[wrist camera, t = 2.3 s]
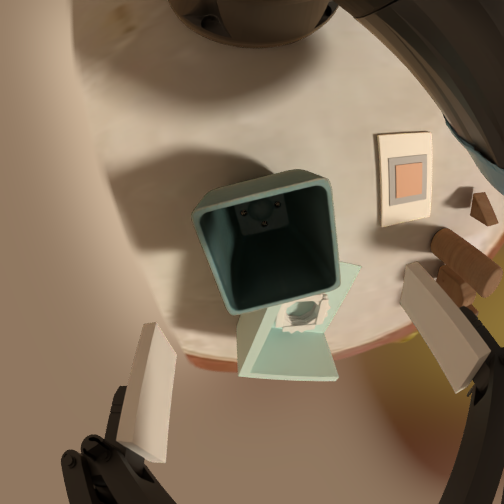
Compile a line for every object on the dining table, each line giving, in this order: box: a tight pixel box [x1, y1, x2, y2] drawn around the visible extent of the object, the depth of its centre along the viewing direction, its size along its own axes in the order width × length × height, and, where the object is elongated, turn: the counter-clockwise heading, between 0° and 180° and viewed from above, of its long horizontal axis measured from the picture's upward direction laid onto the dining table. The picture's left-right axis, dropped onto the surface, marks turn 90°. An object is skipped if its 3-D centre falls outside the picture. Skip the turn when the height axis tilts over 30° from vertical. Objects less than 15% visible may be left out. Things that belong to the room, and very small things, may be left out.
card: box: [377, 132, 432, 227], centre depth 25 cm, size 10×7×1 cm
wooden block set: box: [431, 192, 503, 316], centre depth 26 cm, size 18×9×10 cm, turn 8°
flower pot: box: [191, 169, 341, 315], centre depth 22 cm, size 9×9×9 cm
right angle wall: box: [236, 262, 362, 381], centre depth 29 cm, size 12×12×8 cm
